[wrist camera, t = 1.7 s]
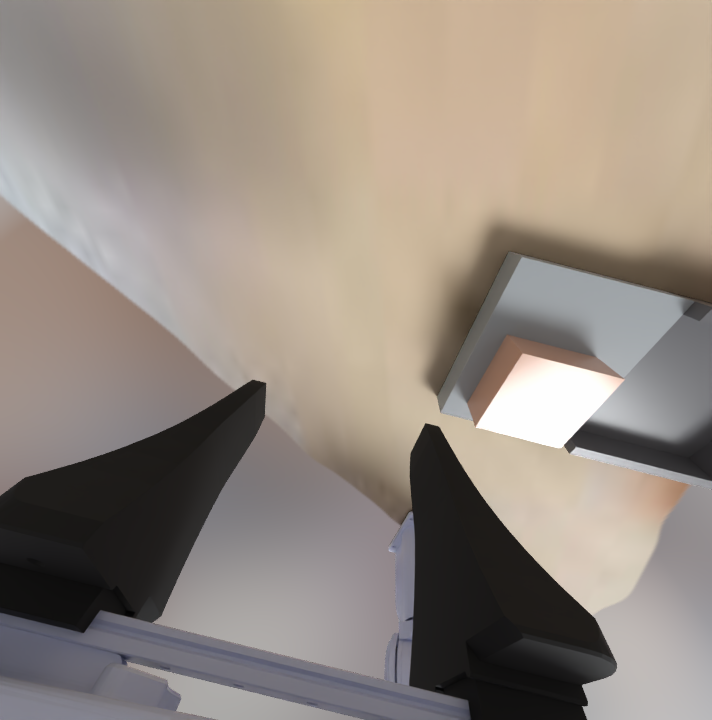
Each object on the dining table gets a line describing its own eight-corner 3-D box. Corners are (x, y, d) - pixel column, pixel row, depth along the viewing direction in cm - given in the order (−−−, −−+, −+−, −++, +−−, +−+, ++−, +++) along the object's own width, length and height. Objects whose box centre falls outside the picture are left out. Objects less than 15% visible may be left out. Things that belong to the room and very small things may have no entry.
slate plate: (550, 425, 23) (562, 443, 21) (437, 396, 23) (440, 412, 21) (664, 291, 17) (695, 301, 15) (508, 251, 17) (521, 256, 15)
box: (680, 458, 23) (716, 490, 20) (550, 425, 23) (569, 453, 20) (843, 336, 17) (924, 361, 14) (664, 291, 17) (713, 307, 14)
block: (542, 422, 20) (560, 448, 18) (466, 403, 20) (475, 427, 18) (596, 357, 17) (625, 379, 15) (507, 334, 17) (522, 353, 15)
